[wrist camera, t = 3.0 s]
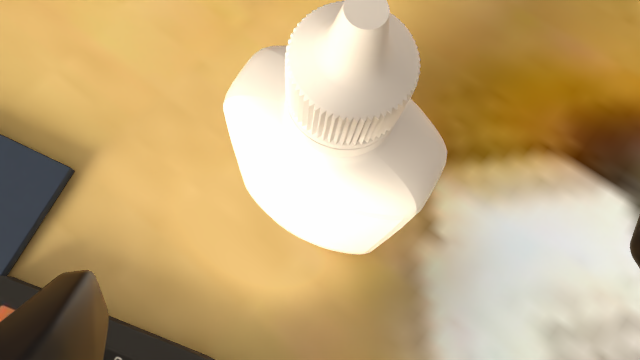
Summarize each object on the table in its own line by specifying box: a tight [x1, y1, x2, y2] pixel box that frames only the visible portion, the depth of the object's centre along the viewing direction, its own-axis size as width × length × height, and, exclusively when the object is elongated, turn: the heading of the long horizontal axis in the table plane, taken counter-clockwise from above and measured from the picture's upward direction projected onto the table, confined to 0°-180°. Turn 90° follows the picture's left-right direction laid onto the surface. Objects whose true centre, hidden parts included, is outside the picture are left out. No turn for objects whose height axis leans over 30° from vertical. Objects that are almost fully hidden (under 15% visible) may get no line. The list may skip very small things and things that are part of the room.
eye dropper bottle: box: [223, 0, 447, 255], centre depth 13 cm, size 4×6×12 cm
